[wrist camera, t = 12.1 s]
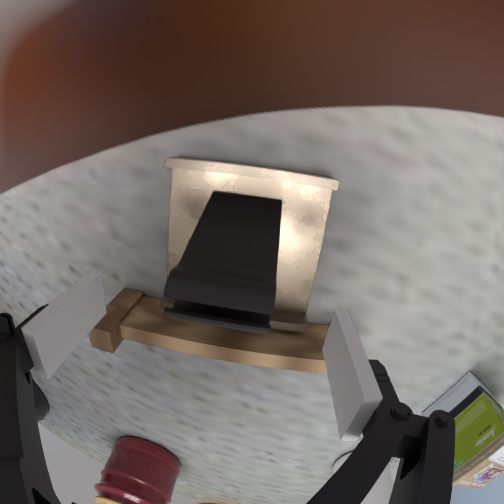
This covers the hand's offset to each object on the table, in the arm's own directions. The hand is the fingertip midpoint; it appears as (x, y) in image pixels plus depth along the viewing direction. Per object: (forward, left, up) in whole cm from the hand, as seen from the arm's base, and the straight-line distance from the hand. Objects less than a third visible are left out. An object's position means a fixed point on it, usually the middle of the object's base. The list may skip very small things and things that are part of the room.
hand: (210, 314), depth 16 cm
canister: (-13, -43, -13) cm, 47 cm away
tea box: (+38, -21, -13) cm, 46 cm away
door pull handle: (0, -8, -13) cm, 15 cm away
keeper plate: (0, 0, -13) cm, 13 cm away
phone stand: (0, 0, -12) cm, 12 cm away
